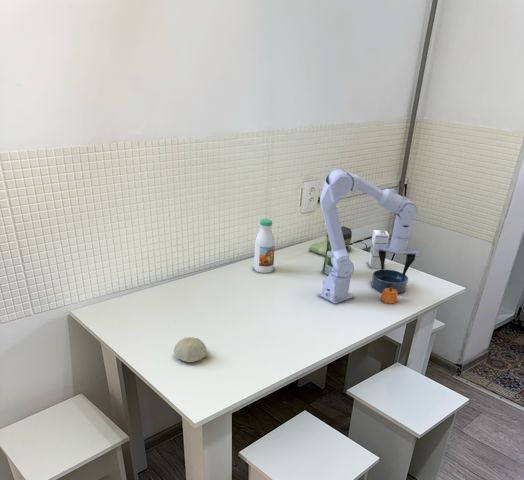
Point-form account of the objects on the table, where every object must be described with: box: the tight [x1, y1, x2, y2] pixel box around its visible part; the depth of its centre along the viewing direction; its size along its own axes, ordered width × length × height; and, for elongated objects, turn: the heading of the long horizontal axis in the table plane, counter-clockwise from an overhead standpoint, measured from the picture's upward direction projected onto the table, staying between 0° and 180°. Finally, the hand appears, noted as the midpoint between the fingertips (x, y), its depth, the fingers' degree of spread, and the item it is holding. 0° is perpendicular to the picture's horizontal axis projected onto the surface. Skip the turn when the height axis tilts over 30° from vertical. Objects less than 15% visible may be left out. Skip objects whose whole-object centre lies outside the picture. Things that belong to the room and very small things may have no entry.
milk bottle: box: [253, 218, 276, 274], centre depth 191 cm, size 8×8×20 cm
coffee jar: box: [322, 225, 353, 276], centre depth 192 cm, size 10×8×19 cm
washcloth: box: [308, 238, 353, 257], centre depth 217 cm, size 13×18×3 cm
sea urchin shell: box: [173, 336, 207, 363], centre depth 138 cm, size 9×8×8 cm
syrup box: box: [368, 229, 390, 269], centre depth 202 cm, size 6×6×14 cm
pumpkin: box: [380, 287, 399, 305], centre depth 175 cm, size 6×6×5 cm
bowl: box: [370, 268, 409, 294], centre depth 186 cm, size 13×13×4 cm
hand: (392, 272), depth 175 cm, fingers open, 7 cm apart
